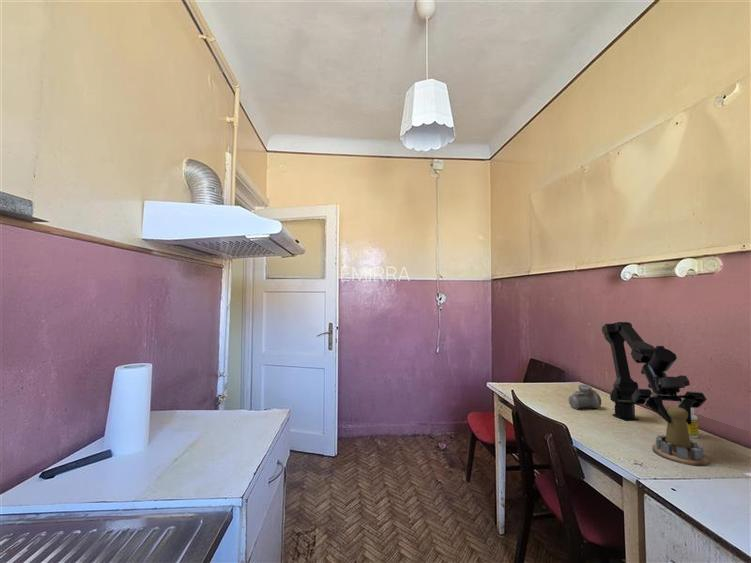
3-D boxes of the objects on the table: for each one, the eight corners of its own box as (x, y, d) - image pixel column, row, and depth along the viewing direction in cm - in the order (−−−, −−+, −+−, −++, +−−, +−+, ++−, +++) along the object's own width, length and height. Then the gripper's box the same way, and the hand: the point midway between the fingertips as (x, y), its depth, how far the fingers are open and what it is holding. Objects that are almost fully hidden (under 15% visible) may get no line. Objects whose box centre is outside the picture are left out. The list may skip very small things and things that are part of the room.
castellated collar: (674, 443, 110) (674, 434, 110) (713, 458, 99) (712, 448, 99) (647, 445, 108) (647, 436, 108) (684, 461, 97) (683, 451, 97)
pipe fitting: (588, 403, 154) (586, 381, 154) (602, 410, 146) (601, 387, 146) (565, 407, 152) (564, 385, 152) (579, 414, 144) (577, 391, 144)
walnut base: (673, 444, 111) (673, 441, 111) (720, 463, 98) (720, 460, 98) (641, 447, 109) (641, 444, 109) (685, 467, 96) (685, 464, 96)
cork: (696, 447, 101) (695, 411, 101) (676, 446, 101) (674, 410, 101) (680, 438, 107) (678, 404, 107) (660, 438, 107) (659, 404, 107)
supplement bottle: (693, 439, 115) (691, 411, 116) (674, 433, 120) (673, 406, 121) (701, 436, 117) (700, 409, 118) (683, 431, 122) (681, 404, 123)
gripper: (634, 364, 111) (655, 408, 100) (701, 367, 106) (730, 413, 95) (623, 382, 118) (641, 424, 107) (685, 385, 114) (711, 430, 103)
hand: (680, 423), depth 103 cm, fingers closed on cork, 5 cm apart
